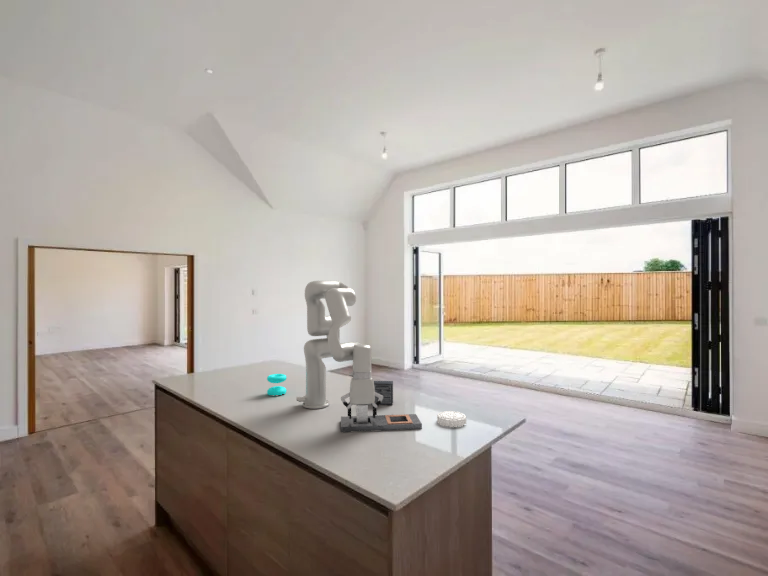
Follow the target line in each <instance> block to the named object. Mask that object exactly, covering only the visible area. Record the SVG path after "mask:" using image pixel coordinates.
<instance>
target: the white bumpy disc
mask: <svg viewBox="0 0 768 576" xmlns="http://www.w3.org/2000/svg"><path fill="white" fill-rule="evenodd" d="M436 415H437V416H436V419H437V420H436V421H437V424H438V425H440V426H442V425H443V426H442V427H445V426H450V427H449V428H451V427H452V428H454V427H457V426H462V427H464V426H465V425H464V424H467V416H466V414H464V413H463V412H460V411H454V410H445V411H440V412H438V414H436ZM463 425H464V426H463ZM453 426H454V427H453ZM457 428H458V427H457Z"/></svg>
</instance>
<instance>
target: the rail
mask: <svg viewBox="0 0 768 576" xmlns="http://www.w3.org/2000/svg"><path fill="white" fill-rule="evenodd" d="M422 426H423V424H422V421H421V420H420V418H419V416H418V415H417V413H409V414H405V413H404V414H383V415H382V414H381V415H380V414H377V415H375V418H373V415H368V424H356V415H355V416H354V415H351V419H349V416H348V415H347V416H341V417H340V432H341V433H352V432H351V431H357V432H372V431H371V430H381V431H398V430H399V431H401V430H400V429H406V430H422V429H423V427H422Z"/></svg>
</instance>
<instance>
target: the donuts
mask: <svg viewBox="0 0 768 576" xmlns="http://www.w3.org/2000/svg"><path fill="white" fill-rule="evenodd" d="M266 380H267V382H268V383H270V384H281V383H284V382H286V380H287V375H286V374H284V373H273V374H269V375H268V376H267V378H266ZM266 393H267V395H268V396H270V395H274V396H273V397H276V396H275V395H281V396H283V395H282V394H284V395H285V394H286V393H287V388H286V387H284V386H281V385H274V386H271V387H269V388H268V389H267V391H266Z"/></svg>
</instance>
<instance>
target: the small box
mask: <svg viewBox="0 0 768 576" xmlns="http://www.w3.org/2000/svg"><path fill="white" fill-rule="evenodd" d="M374 389H375V392H376V393H378V394H380V395H382V396H383V399H382V401H381V403H380V404H379V405H378V406H393V405H394V380H374ZM378 400H379V398H378V397H376V396H375V402H377V401H378ZM370 405H371V406H373V405H372V404H370Z"/></svg>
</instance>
